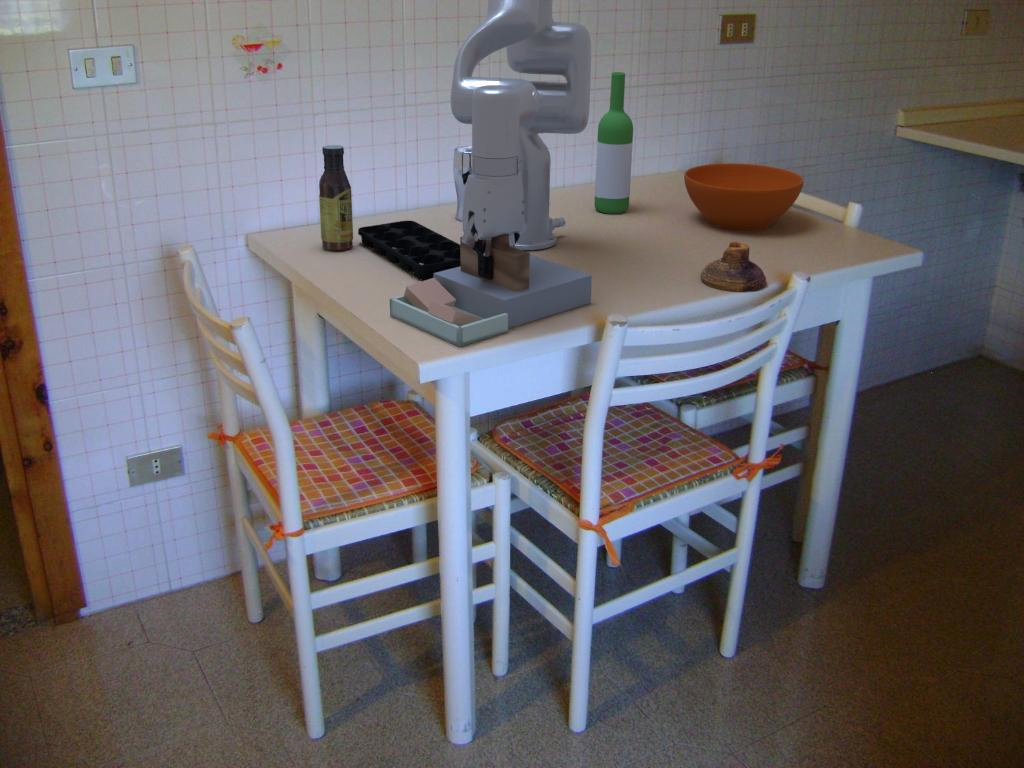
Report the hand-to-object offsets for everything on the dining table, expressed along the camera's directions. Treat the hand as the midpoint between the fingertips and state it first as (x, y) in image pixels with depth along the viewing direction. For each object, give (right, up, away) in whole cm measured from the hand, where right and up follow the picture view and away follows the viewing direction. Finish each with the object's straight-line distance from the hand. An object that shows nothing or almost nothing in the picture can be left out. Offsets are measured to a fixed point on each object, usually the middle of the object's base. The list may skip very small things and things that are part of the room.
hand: (494, 274), depth 178 cm
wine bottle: (+25, +21, +62) cm, 70 cm away
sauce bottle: (-32, +9, +33) cm, 46 cm away
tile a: (-11, -5, -1) cm, 12 cm away
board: (+3, -4, +5) cm, 7 cm away
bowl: (+52, +17, +55) cm, 78 cm away
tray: (-7, -8, -5) cm, 12 cm away
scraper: (0, -1, 0) cm, 1 cm away
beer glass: (-6, +18, +54) cm, 57 cm away
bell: (+43, 0, +17) cm, 47 cm away
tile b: (-6, -7, -9) cm, 13 cm away
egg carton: (-16, +6, +28) cm, 33 cm away
